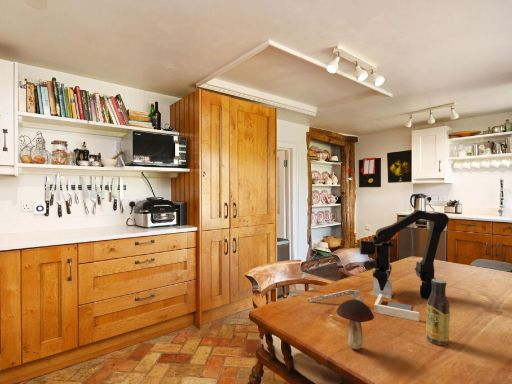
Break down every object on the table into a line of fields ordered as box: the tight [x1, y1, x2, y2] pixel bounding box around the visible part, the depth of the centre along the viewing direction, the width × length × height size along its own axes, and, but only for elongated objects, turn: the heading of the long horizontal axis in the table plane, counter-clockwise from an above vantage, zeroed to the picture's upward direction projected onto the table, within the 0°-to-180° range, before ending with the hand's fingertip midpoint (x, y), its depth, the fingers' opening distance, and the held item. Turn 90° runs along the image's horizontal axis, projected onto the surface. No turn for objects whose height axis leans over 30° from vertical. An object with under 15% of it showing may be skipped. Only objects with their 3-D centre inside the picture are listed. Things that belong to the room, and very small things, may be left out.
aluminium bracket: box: [371, 277, 393, 300], centre depth 133 cm, size 8×6×6 cm
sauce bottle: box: [425, 278, 450, 346], centre depth 91 cm, size 6×6×20 cm
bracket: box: [306, 289, 364, 303], centre depth 122 cm, size 3×21×10 cm, turn 79°
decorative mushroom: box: [336, 298, 375, 350], centre depth 87 cm, size 11×11×15 cm
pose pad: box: [386, 301, 412, 311], centre depth 116 cm, size 9×11×1 cm
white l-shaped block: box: [373, 294, 420, 322], centre depth 116 cm, size 16×15×3 cm
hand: (382, 288), depth 134 cm, fingers open, 7 cm apart
